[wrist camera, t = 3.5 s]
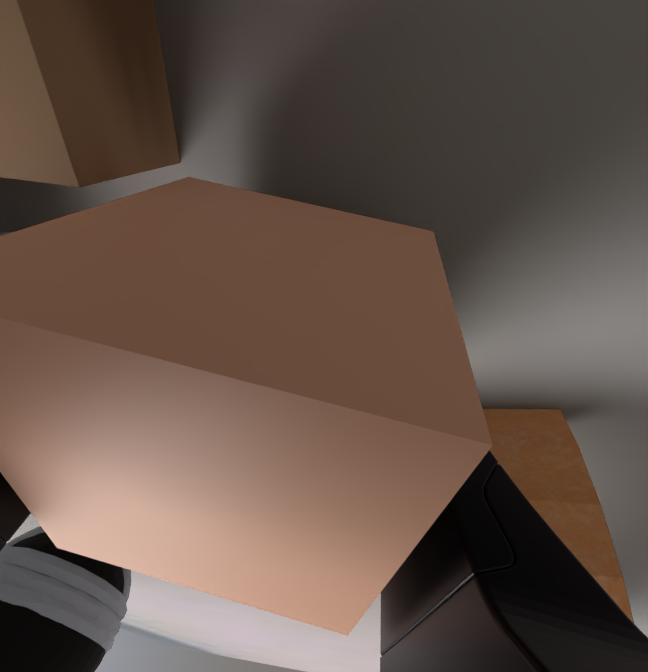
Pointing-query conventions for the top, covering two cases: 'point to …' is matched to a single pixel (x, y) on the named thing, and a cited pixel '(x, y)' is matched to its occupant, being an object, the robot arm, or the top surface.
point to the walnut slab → (82, 91)
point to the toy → (57, 606)
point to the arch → (558, 487)
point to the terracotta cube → (235, 393)
